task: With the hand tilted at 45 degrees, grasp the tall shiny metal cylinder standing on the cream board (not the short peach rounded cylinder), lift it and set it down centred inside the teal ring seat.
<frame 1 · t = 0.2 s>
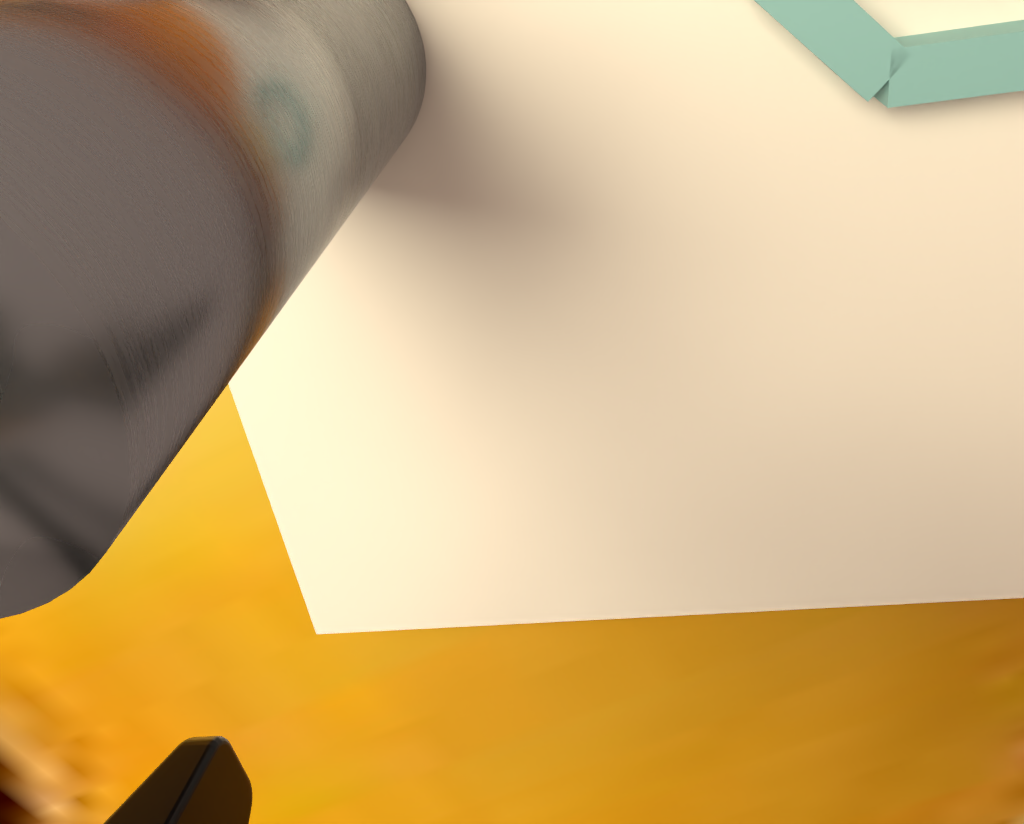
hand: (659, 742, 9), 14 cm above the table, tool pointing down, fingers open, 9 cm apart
board: (724, 139, 20), on the table
shiny metal cylinder: (314, 64, 18), point 2 cm above the table, touching board
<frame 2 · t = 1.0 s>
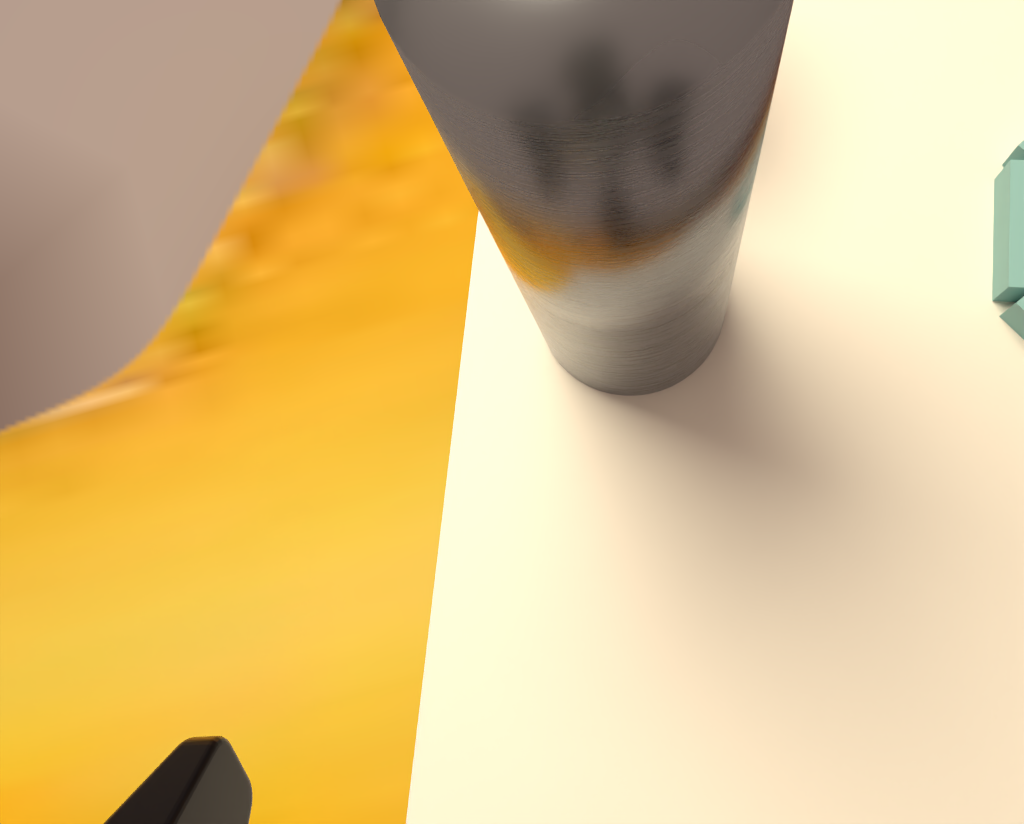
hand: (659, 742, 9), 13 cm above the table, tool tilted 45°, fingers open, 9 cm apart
board: (960, 468, 21), on the table
shiny metal cylinder: (630, 305, 21), point 2 cm above the table, touching board
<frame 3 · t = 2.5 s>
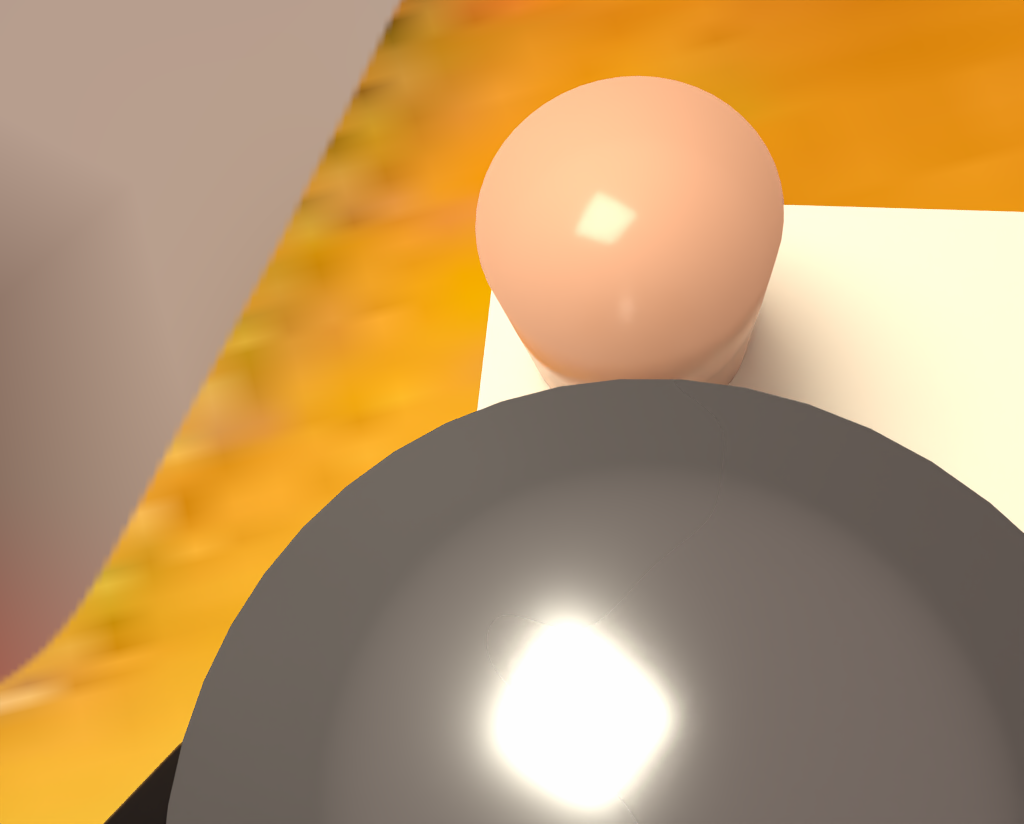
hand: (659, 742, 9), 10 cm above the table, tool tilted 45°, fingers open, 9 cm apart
peach rounded cylinder: (637, 319, 18), point 2 cm above the table, touching board
shiny metal cylinder: (662, 663, 16), point 2 cm above the table, touching board
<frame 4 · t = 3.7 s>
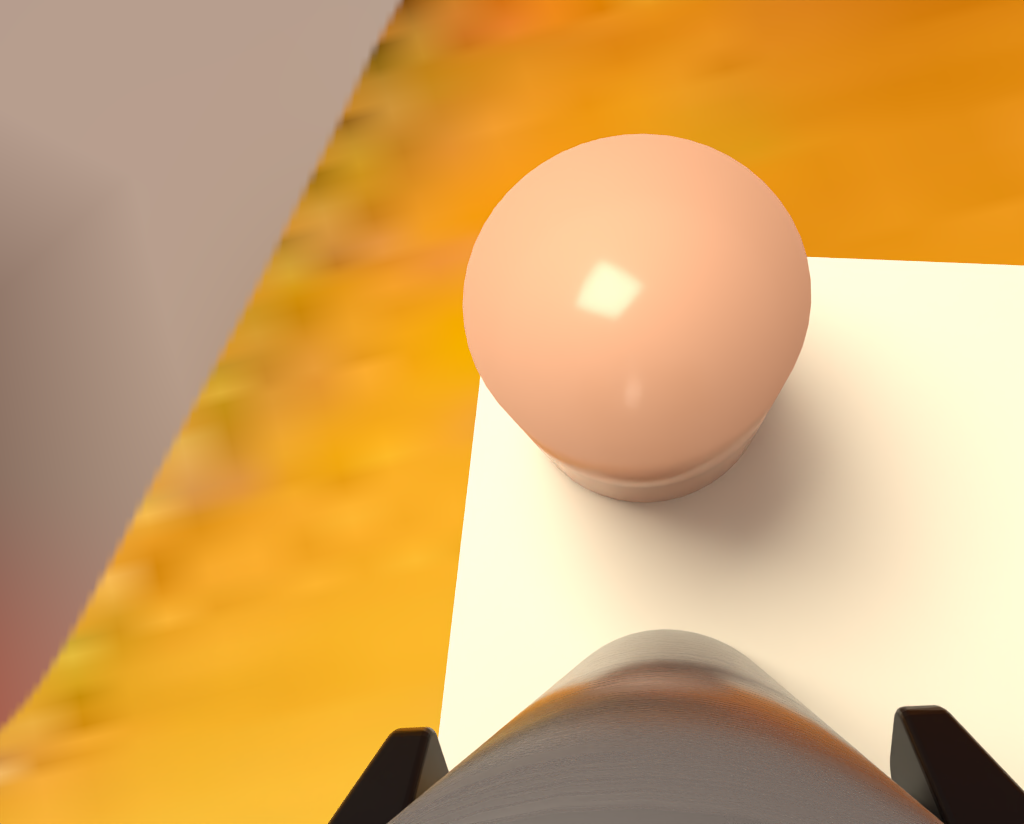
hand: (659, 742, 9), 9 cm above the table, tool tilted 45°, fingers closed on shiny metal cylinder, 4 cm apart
peach rounded cylinder: (642, 381, 16), point 2 cm above the table, touching board
shiny metal cylinder: (670, 764, 15), point 2 cm above the table, touching board, gripper
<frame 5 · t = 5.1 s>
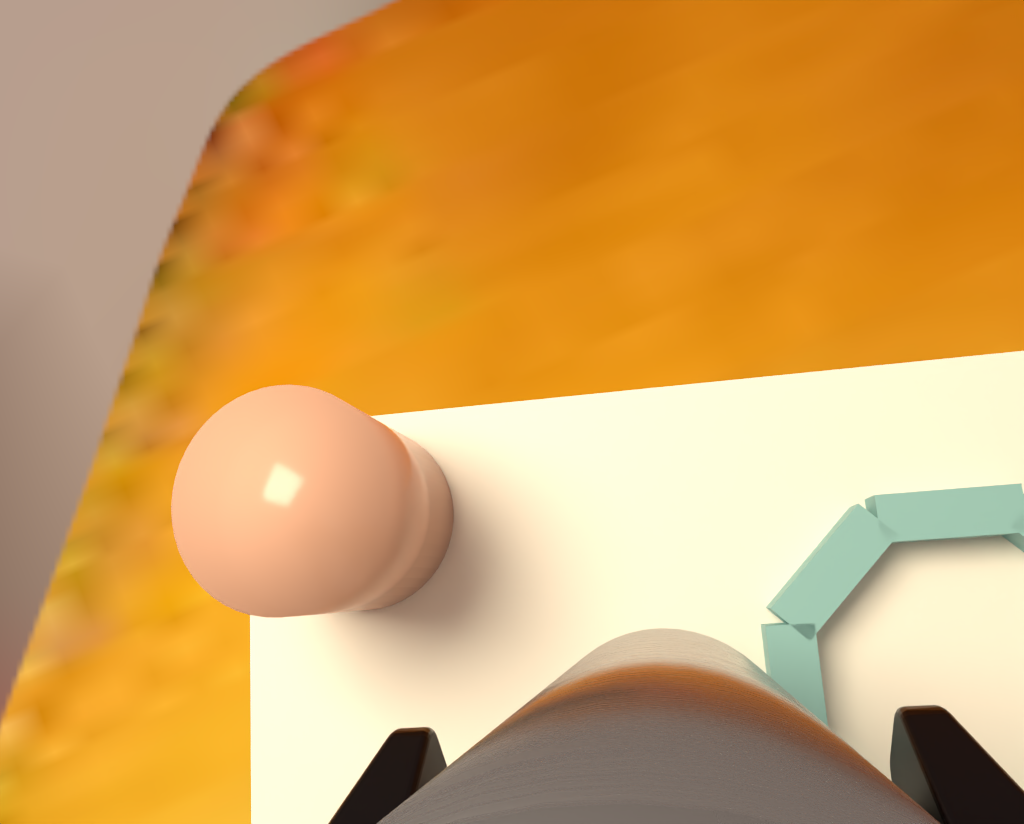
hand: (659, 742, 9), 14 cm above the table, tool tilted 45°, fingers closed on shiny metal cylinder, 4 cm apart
peach rounded cylinder: (365, 517, 22), point 2 cm above the table, touching board
shiny metal cylinder: (668, 763, 15), point 7 cm above the table, touching gripper
when the fingers open (10 cm above the table, at t = 6.7 s): shiny metal cylinder drops 1 cm, resting on board.
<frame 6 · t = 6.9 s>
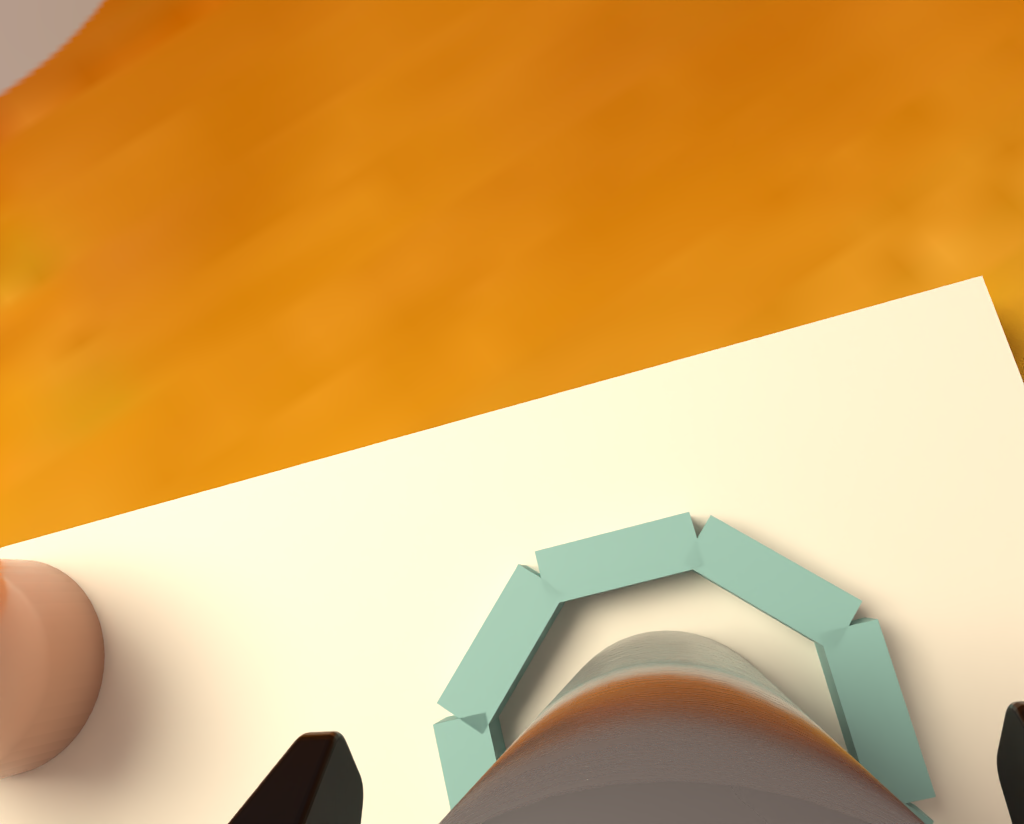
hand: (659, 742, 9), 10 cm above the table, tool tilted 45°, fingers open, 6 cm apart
peach rounded cylinder: (9, 665, 19), point 2 cm above the table, touching board
shiny metal cylinder: (671, 754, 16), point 2 cm above the table, touching board
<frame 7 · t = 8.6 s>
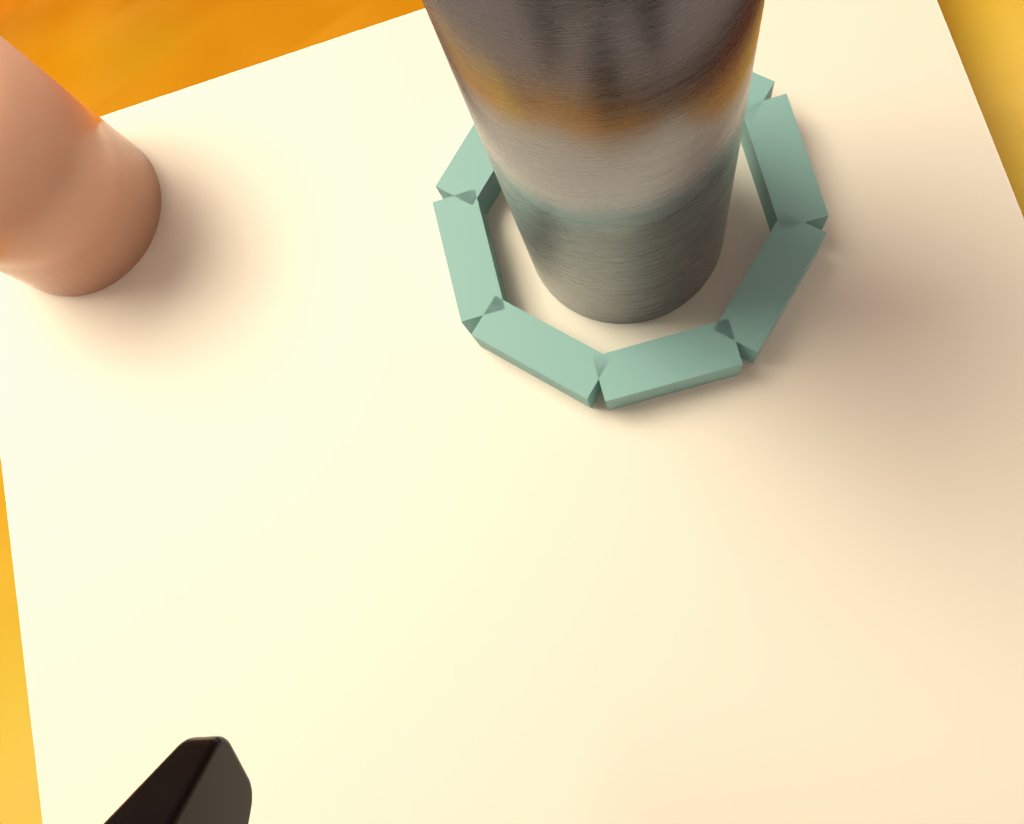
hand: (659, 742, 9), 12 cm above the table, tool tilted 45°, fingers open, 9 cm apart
board: (521, 492, 22), on the table
peach rounded cylinder: (81, 213, 23), point 2 cm above the table, touching board
shiny metal cylinder: (624, 230, 20), point 2 cm above the table, touching board
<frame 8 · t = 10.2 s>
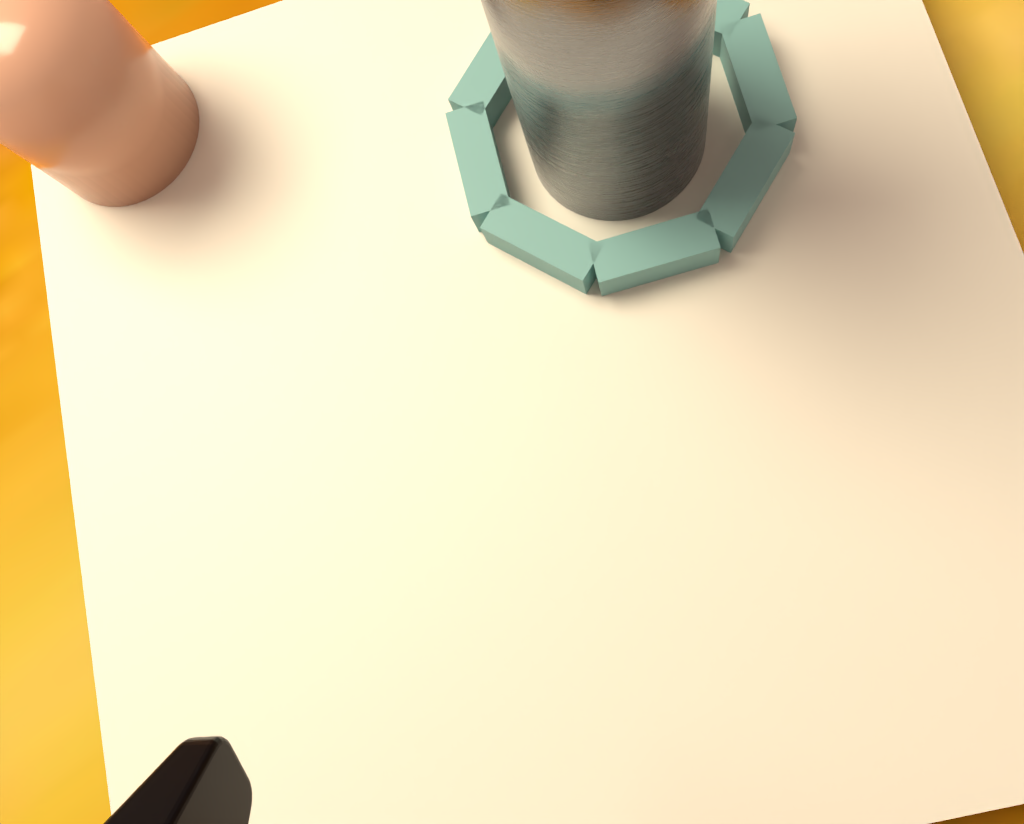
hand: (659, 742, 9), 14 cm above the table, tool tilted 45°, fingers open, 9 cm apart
board: (524, 380, 24), on the table
peach rounded cylinder: (126, 133, 25), point 2 cm above the table, touching board
shiny metal cylinder: (617, 139, 23), point 2 cm above the table, touching board
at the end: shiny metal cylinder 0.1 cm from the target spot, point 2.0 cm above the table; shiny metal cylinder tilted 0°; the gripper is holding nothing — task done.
